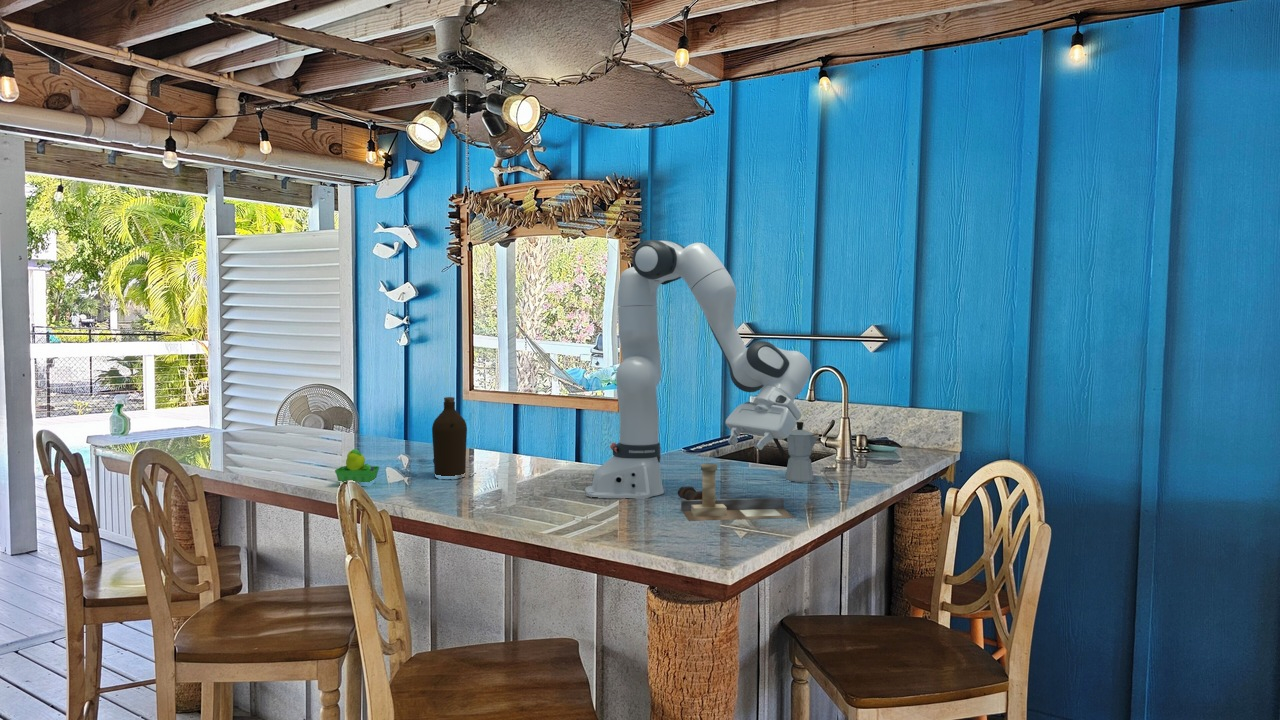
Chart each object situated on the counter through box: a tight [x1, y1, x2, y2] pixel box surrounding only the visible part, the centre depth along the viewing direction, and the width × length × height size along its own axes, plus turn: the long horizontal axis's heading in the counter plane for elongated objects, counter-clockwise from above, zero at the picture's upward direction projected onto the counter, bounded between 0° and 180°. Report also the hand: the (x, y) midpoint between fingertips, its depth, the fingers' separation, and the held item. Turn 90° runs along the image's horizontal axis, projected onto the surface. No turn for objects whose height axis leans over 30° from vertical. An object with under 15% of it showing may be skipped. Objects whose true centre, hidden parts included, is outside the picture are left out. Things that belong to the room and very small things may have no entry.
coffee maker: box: [772, 421, 821, 483], centre depth 255 cm, size 15×9×18 cm, turn 59°
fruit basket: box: [334, 448, 380, 483], centre depth 246 cm, size 11×9×11 cm
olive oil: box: [431, 396, 468, 476], centre depth 259 cm, size 11×11×25 cm
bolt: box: [677, 486, 702, 500], centre depth 221 cm, size 6×5×15 cm
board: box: [680, 497, 796, 522], centre depth 204 cm, size 26×12×4 cm, turn 97°
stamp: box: [691, 462, 727, 517], centre depth 203 cm, size 8×4×12 cm, turn 97°
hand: (743, 445), depth 210 cm, fingers open, 8 cm apart
